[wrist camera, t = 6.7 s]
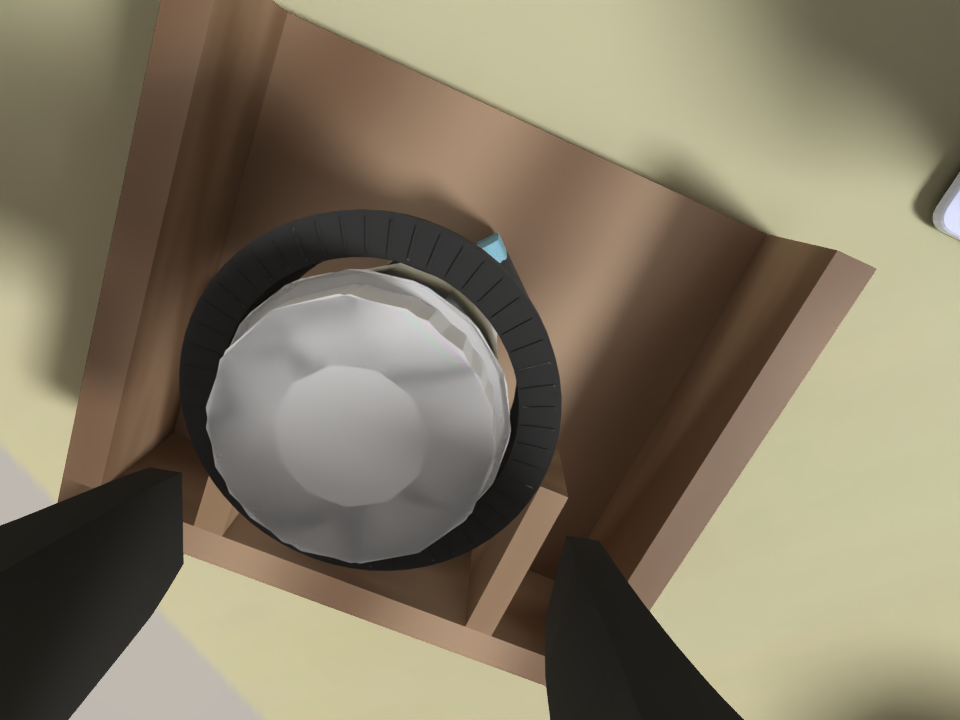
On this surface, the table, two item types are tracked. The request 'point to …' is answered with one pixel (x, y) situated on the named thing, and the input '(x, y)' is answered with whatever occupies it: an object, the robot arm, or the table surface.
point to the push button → (371, 390)
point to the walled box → (557, 298)
